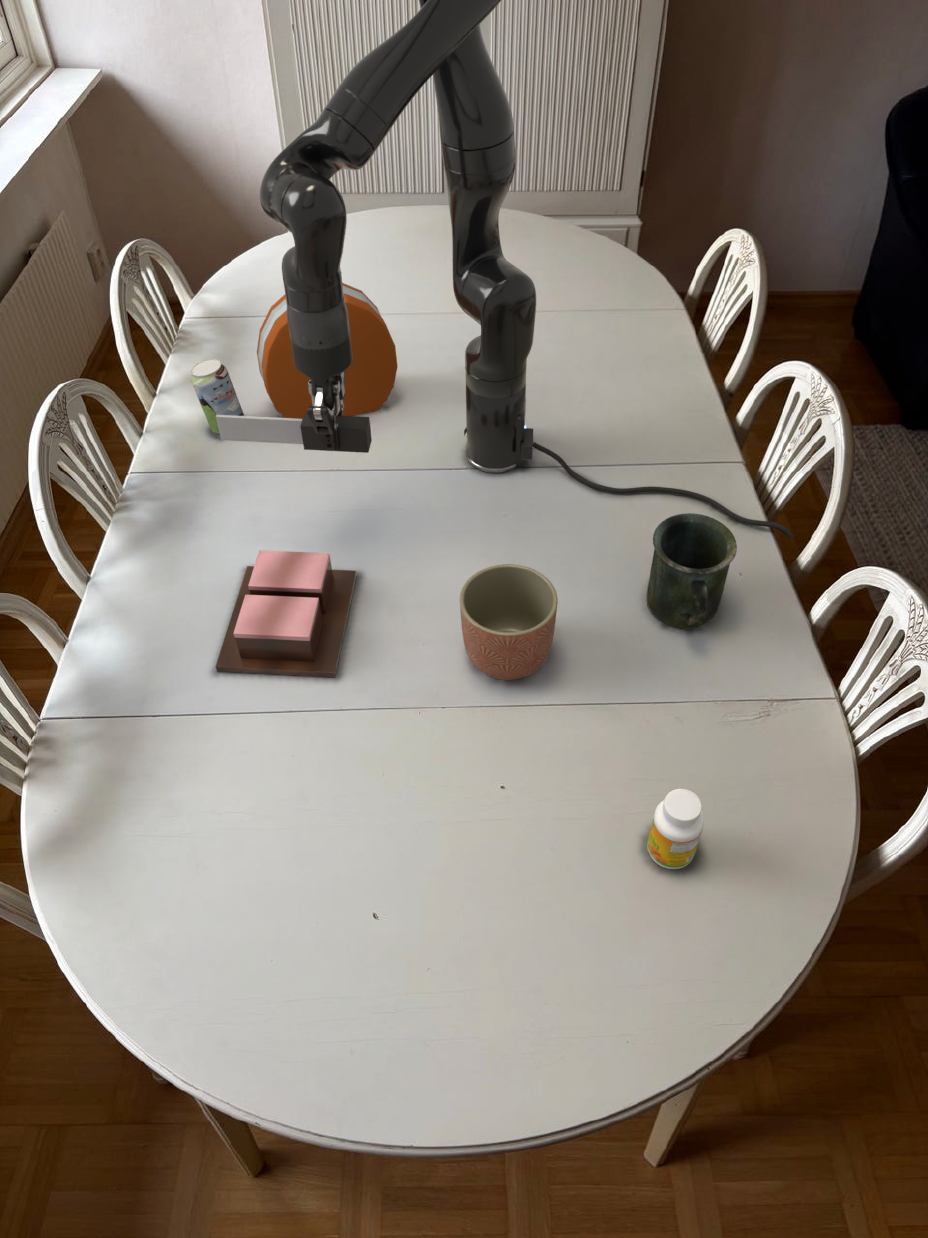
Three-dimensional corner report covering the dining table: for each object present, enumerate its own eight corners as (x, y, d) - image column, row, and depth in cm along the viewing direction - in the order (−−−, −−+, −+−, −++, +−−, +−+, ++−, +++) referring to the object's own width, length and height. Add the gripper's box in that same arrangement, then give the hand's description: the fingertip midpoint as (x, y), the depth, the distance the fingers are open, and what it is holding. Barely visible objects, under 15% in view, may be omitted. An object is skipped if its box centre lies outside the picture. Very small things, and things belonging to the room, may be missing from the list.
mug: (714, 574, 143) (729, 511, 134) (731, 652, 133) (749, 590, 125) (638, 575, 143) (648, 512, 134) (650, 652, 134) (662, 591, 125)
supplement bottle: (642, 830, 116) (652, 784, 108) (688, 826, 116) (701, 780, 109) (652, 872, 112) (663, 828, 105) (699, 868, 112) (714, 824, 105)
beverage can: (239, 441, 166) (225, 379, 157) (198, 436, 167) (181, 375, 158) (252, 418, 170) (239, 357, 161) (211, 413, 171) (196, 353, 162)
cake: (356, 575, 144) (352, 545, 140) (335, 677, 132) (329, 648, 127) (248, 570, 146) (240, 540, 141) (216, 671, 133) (207, 642, 128)
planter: (447, 636, 136) (444, 580, 128) (529, 608, 139) (531, 552, 131) (484, 702, 129) (483, 647, 120) (569, 671, 132) (575, 616, 124)
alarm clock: (386, 374, 178) (375, 254, 161) (401, 405, 172) (392, 284, 155) (264, 399, 174) (240, 279, 157) (275, 432, 167) (251, 310, 151)
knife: (371, 440, 139) (369, 416, 136) (368, 452, 137) (366, 429, 134) (224, 432, 140) (218, 409, 137) (218, 445, 138) (213, 421, 135)
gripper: (339, 363, 120) (352, 475, 133) (358, 302, 129) (369, 412, 142) (277, 360, 120) (297, 472, 133) (301, 300, 130) (317, 410, 143)
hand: (334, 441), depth 138 cm, fingers closed on knife, 3 cm apart
